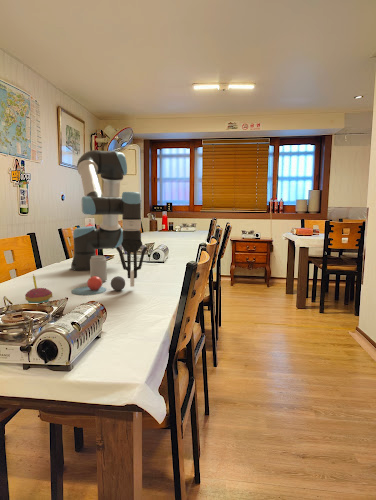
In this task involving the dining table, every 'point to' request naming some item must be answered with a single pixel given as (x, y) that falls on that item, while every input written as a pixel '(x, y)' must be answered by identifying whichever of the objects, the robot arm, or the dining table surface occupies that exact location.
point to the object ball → (94, 283)
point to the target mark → (87, 291)
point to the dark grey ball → (118, 283)
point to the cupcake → (38, 294)
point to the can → (98, 267)
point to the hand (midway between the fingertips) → (132, 285)
